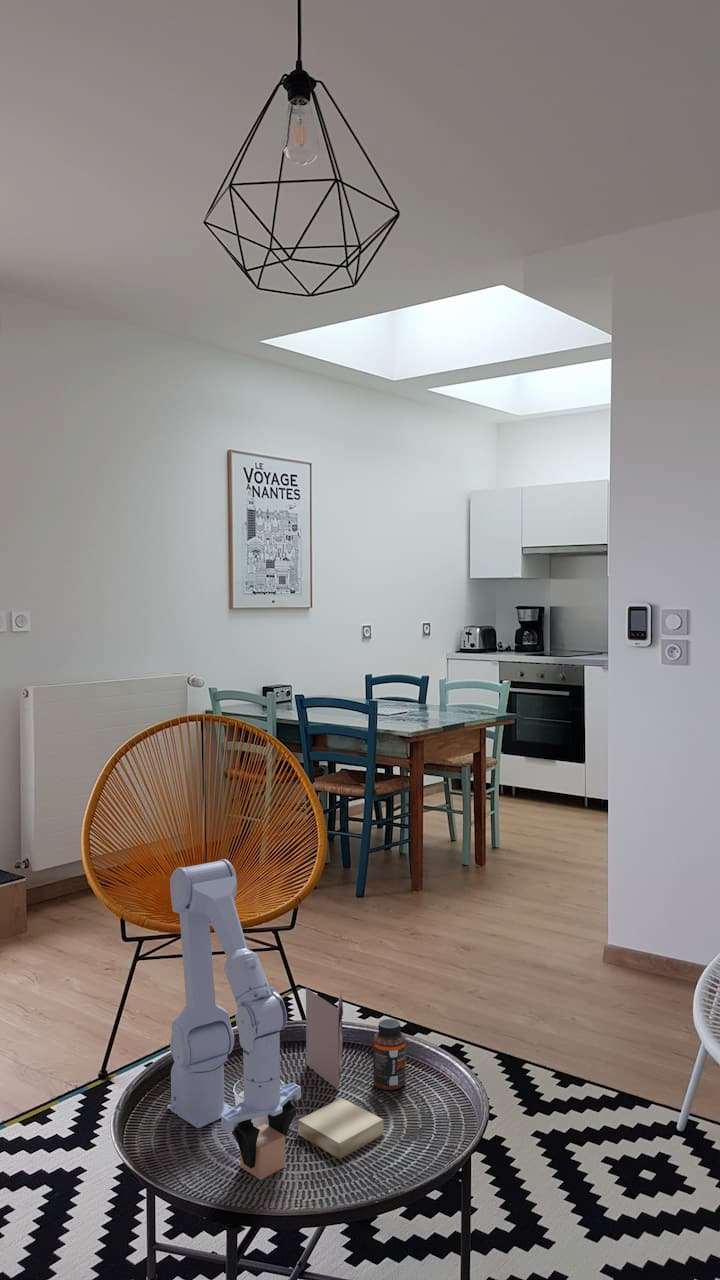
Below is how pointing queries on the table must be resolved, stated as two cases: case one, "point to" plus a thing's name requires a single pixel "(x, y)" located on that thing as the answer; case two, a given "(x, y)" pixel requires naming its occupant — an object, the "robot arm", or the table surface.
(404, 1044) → the supplement bottle
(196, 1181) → the table surface
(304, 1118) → the birch block
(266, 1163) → the terracotta cube
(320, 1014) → the greeting card
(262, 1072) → the robot arm
